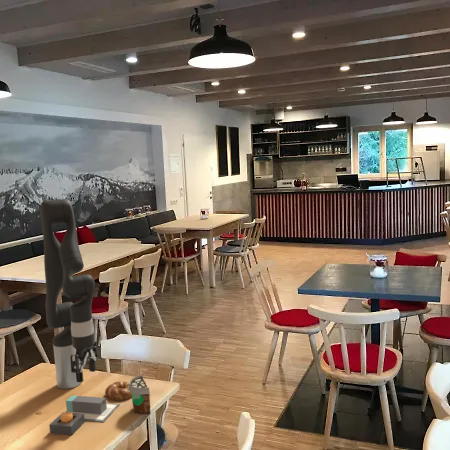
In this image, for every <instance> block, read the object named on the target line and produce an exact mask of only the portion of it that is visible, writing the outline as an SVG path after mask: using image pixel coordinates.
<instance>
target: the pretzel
mask: <svg viewBox="0 0 450 450" xmlns="http://www.w3.org/2000/svg"><path fill="white" fill-rule="evenodd" d="M129 383H130V382H128V381H115V382H113V383H112V384H109V385H108V386H107V387H106V389H105V390H104V391H105V392H104V395H105V396H106V397H107V398H108V399H112V400H115V401H122V400H125V401H126V400H129V399H132V397H131V392H130V391H129V389H128V388H129Z"/></svg>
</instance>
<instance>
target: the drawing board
mask: <svg viewBox="0 0 450 450" xmlns="http://www.w3.org/2000/svg"><path fill="white" fill-rule="evenodd" d="M106 405H107V409H106V410H105V411H104V412H103V413H102V414H92V413H80V412H72V413H78V414H84V419H85V422H95V423H105V422H106V420H108V418H110V416H111V415H113V413H114V412H115V411H116V410H117V408H119V407H120V403H109V402H106ZM115 409H116V410H115ZM114 410H115V411H114ZM65 412H68V411H67V410H66V411H65Z"/></svg>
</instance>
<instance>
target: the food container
mask: <svg viewBox="0 0 450 450" xmlns="http://www.w3.org/2000/svg"><path fill="white" fill-rule="evenodd" d="M128 383H129V388H128V389H129V391H130V392H131V403H132V410H133V412H134V413H135V414H138V415H151V400H150V393H151V392H150V387H148V385H147V383H146V381H145V379H144V375H143V374H140V375H137V376H135V377H133V378H132V379H130V381H129V382H128Z"/></svg>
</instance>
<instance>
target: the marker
mask: <svg viewBox="0 0 450 450" xmlns="http://www.w3.org/2000/svg"><path fill="white" fill-rule="evenodd" d="M106 403H107V398H106V397H99V396H98V397H97V396H85V395H71V396H69V398H67V399H66V400H65V404H66V406H65V407H66V411H68V412H80V413H92V414H102V413H103V412H104V411H105V410H106V409H107V405H106Z"/></svg>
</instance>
